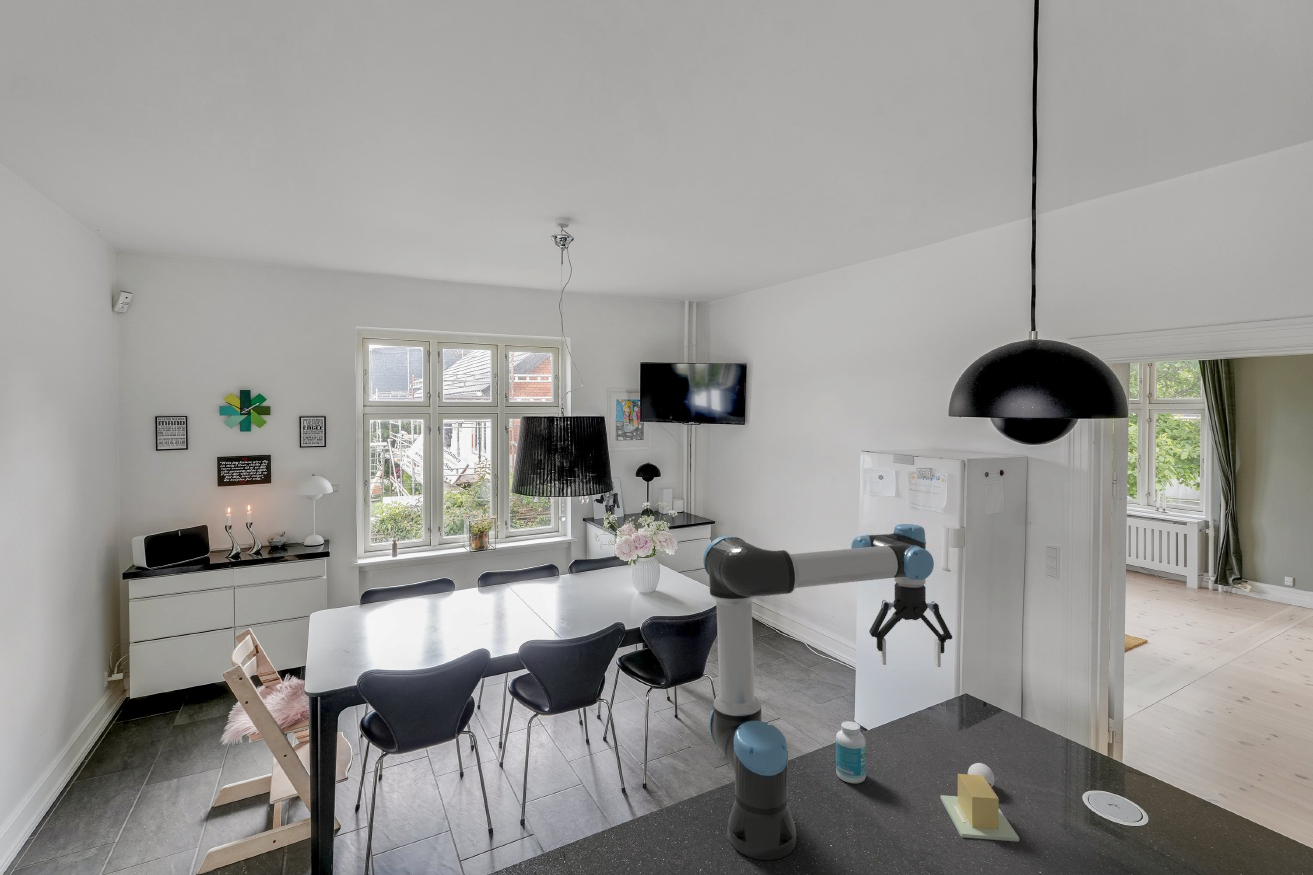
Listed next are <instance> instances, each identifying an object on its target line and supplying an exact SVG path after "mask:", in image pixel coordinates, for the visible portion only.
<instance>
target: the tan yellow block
mask: <svg viewBox="0 0 1313 875" xmlns="http://www.w3.org/2000/svg"><path fill="white" fill-rule="evenodd" d="M992 789H993V787H992V788H991V787H990V785H989V784H988V783H987V781H986V780H985V778H984V777H983V775H969V774H968V773H967V774H966V773H964V774H963V773H957V796H958V804H959V806H960V807H961V809H962V811H963V812H964V814H965V816H966V818H967V819H968V821H969V823H970V824H971V826H972V827H973V828H987V829H999V809H1000V808H999V803H1000V802H999V801H1000V799H999V796H997V793H995V791H994V789H993V790H992Z"/></svg>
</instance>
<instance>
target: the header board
mask: <svg viewBox="0 0 1313 875" xmlns="http://www.w3.org/2000/svg"><path fill="white" fill-rule="evenodd" d="M940 801H941V802H942V804H943V805H944V808H945V810H946V811H947V813H948V815H949V818H950V819H951V821H952V824H954V827H955V828H956V830H957V832H958V834H959V836H960V837H961V838H967V839H979V840H994V841H1004V842H1005V841H1008V842H1020V837H1019V836H1018V834H1017V832H1016V831H1015V830H1014V828H1013V827H1012V825H1011V824H1010V822H1009V821H1008V819H1007V818H1006V816H1005V814H1003V813H1004V812H1002V810H1001V809H1000V808H999V829H987V828H973V827H972V826H971V824H970V823H969V821H968V819H967V818H966V816H965V814H964V812H963V811H962V809H961V807H960V806H959V804H958V795H957V796H956V795H942V794H940Z"/></svg>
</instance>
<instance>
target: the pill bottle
mask: <svg viewBox="0 0 1313 875" xmlns="http://www.w3.org/2000/svg"><path fill="white" fill-rule="evenodd" d="M840 727H841V729H840V730H838V732H836V735H835V769H836V771H835V772H836V775H837V778H839V779H840V780H841V781H844V782H846V783H848V784H861V783H862V782H865V779H866V777H867V774H866V773H867V758H866V757H867V756H866V754H867V753H866V752H867V751H866V750H867V749H866V748H867V747H866V746H867V740H866V737H865V736H864V735H863V733H861V726H860V724H858V723H857V722H854V721H850V720H847V721H843V722H842V723H841V726H840Z"/></svg>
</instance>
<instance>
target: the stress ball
mask: <svg viewBox="0 0 1313 875" xmlns="http://www.w3.org/2000/svg"><path fill="white" fill-rule="evenodd" d="M967 774H969V775H983V777H984V778H985V780H986V781H987V783H988V784H989V785H990V787H991V788H992V790H993V791H994V789H993V786H994V784H995V775H994V773H993V770H992V768H990V767H989V766H988V765H987V764H985V763H981V762H977V763H972V765H970V766H969V767H968V771H967Z"/></svg>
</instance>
